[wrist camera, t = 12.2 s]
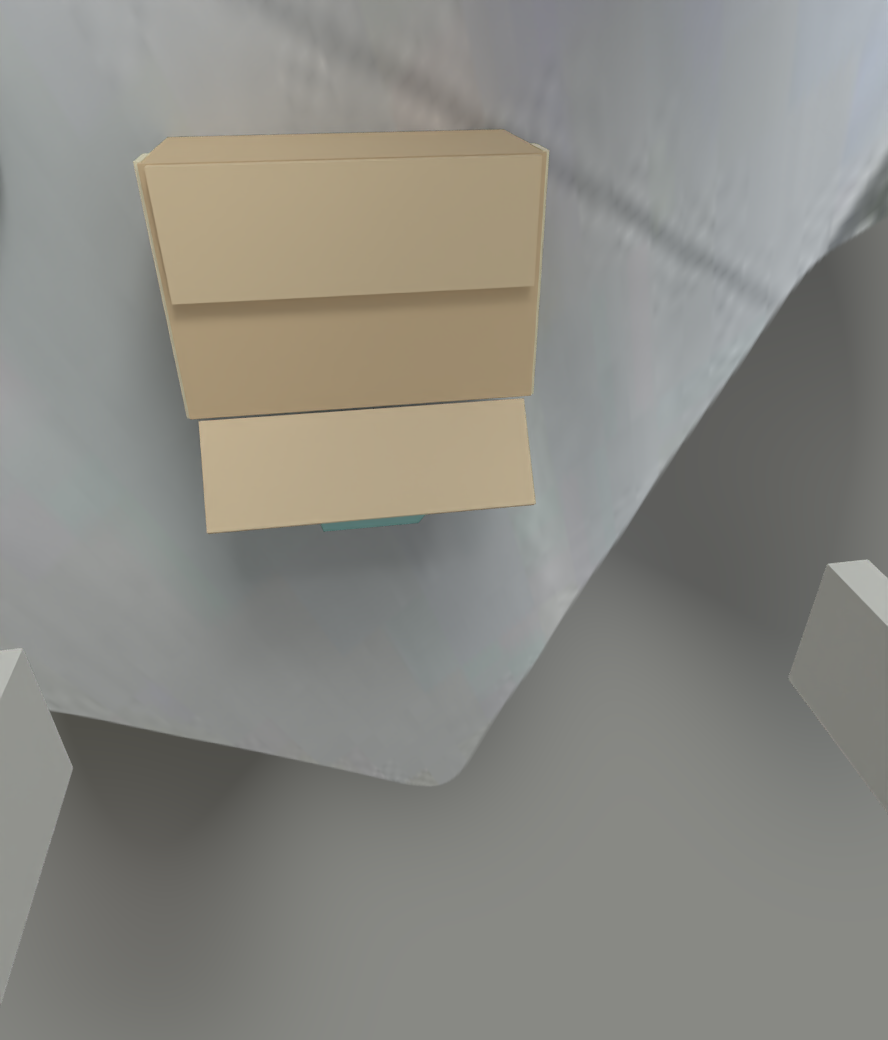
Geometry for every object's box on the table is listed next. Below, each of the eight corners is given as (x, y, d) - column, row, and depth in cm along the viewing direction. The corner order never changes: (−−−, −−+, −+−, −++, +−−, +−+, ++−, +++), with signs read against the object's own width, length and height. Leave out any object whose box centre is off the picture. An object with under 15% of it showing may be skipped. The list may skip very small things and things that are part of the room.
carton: (163, 136, 40) (128, 165, 32) (506, 128, 42) (555, 153, 34) (204, 356, 46) (184, 426, 38) (498, 338, 49) (538, 401, 41)
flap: (206, 532, 38) (233, 544, 47) (535, 503, 41) (504, 519, 49) (198, 421, 39) (226, 452, 48) (523, 398, 41) (494, 432, 50)
